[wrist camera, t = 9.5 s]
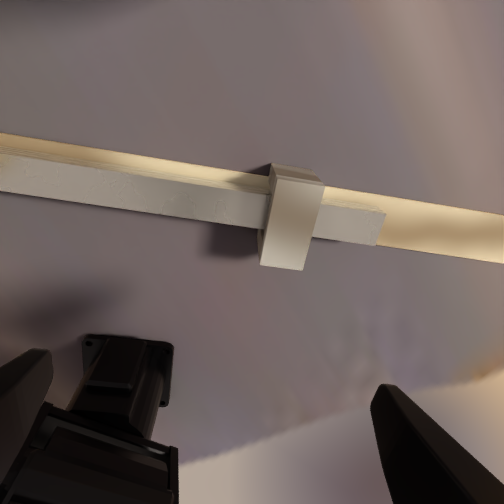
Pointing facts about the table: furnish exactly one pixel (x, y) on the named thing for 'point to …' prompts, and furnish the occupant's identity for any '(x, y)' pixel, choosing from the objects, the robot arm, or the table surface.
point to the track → (398, 210)
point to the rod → (171, 194)
